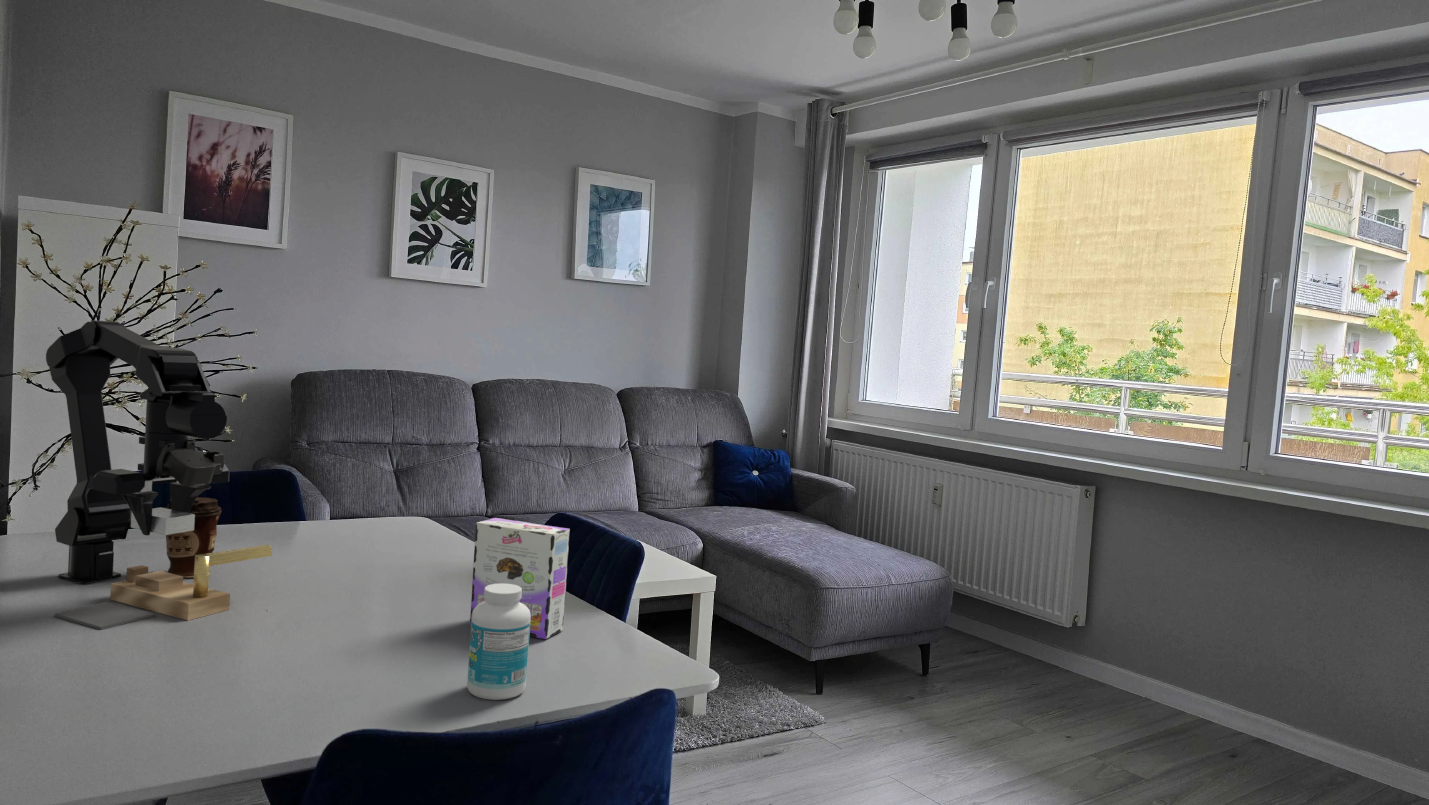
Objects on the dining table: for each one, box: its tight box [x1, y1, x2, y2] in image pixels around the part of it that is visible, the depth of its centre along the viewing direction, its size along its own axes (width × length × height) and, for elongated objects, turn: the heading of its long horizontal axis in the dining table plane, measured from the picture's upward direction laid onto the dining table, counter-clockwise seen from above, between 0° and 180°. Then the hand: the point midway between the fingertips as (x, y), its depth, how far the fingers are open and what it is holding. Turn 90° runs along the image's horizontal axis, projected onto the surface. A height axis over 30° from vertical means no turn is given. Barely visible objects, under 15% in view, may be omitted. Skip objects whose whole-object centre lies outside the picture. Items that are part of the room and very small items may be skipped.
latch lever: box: [192, 544, 273, 597], centre depth 146 cm, size 12×2×6 cm, turn 150°
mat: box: [54, 600, 156, 631], centre depth 137 cm, size 10×8×1 cm
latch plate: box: [109, 564, 231, 621], centre depth 145 cm, size 17×7×4 cm, turn 67°
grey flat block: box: [130, 507, 195, 536], centre depth 145 cm, size 8×5×2 cm, turn 67°
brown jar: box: [165, 496, 222, 578], centre depth 161 cm, size 9×8×13 cm
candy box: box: [469, 517, 571, 640], centre depth 147 cm, size 14×6×16 cm, turn 71°
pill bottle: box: [466, 583, 531, 701], centre depth 121 cm, size 8×7×14 cm
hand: (162, 532), depth 145 cm, fingers closed on grey flat block, 5 cm apart
